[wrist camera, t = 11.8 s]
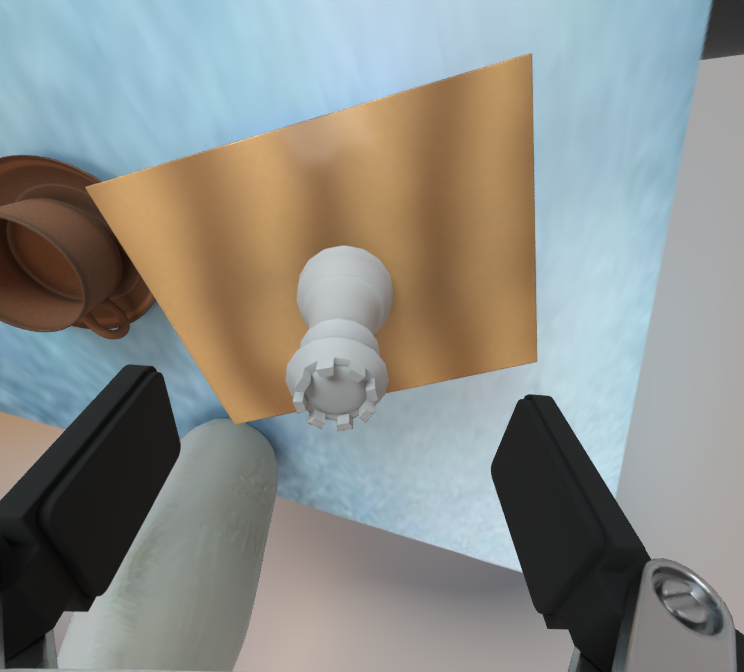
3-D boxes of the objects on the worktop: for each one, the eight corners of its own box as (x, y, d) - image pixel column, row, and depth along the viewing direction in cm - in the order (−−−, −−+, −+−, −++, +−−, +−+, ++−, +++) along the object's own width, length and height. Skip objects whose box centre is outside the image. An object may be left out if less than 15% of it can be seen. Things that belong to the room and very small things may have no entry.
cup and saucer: (200, 234, 26) (159, 265, 21) (133, 342, 31) (87, 390, 26) (13, 106, 22) (-95, 106, 17) (-31, 254, 27) (-126, 290, 22)
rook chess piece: (348, 342, 19) (340, 470, 13) (279, 288, 18) (227, 402, 11) (411, 287, 18) (442, 399, 11) (343, 220, 16) (328, 305, 9)
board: (520, 56, 14) (532, 52, 13) (529, 350, 21) (537, 361, 20) (101, 182, 16) (84, 187, 15) (240, 410, 23) (234, 424, 22)
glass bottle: (304, 453, 39) (212, 1003, 15) (220, 478, 41) (21, 1003, 17) (254, 386, 34) (1, 1048, 10) (162, 417, 36) (-238, 1041, 12)
